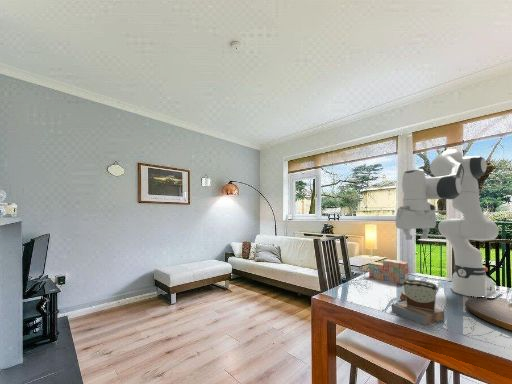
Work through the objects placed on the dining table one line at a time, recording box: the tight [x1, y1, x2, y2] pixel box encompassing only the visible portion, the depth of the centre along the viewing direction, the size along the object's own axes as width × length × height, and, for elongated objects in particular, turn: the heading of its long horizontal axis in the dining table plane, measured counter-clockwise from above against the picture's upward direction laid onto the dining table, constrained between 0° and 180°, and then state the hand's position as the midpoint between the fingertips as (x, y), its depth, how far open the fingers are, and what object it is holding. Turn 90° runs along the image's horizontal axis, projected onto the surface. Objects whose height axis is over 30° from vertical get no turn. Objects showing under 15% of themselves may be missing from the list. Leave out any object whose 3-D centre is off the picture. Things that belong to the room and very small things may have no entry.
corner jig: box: [391, 301, 428, 326], centre depth 100 cm, size 12×14×3 cm
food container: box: [401, 279, 439, 311], centre depth 101 cm, size 12×6×10 cm, turn 55°
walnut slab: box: [397, 303, 445, 325], centre depth 99 cm, size 11×12×4 cm
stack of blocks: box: [368, 258, 410, 285], centre depth 152 cm, size 21×6×12 cm, turn 41°
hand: (416, 239), depth 102 cm, fingers open, 8 cm apart
